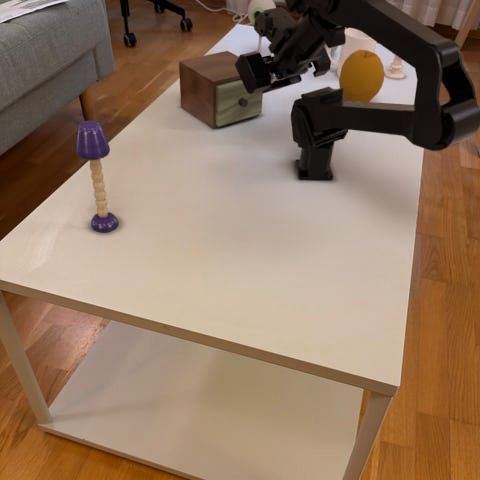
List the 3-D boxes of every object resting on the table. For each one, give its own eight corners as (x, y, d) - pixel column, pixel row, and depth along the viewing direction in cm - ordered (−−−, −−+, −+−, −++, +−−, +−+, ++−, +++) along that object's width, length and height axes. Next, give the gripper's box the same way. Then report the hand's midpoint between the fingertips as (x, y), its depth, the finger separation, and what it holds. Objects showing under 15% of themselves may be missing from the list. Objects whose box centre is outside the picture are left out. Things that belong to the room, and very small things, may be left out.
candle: (404, 72, 129) (416, 28, 122) (403, 80, 126) (416, 35, 118) (384, 70, 130) (395, 26, 122) (383, 77, 126) (394, 32, 119)
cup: (364, 85, 122) (373, 40, 115) (318, 75, 125) (325, 31, 118) (372, 74, 128) (382, 31, 120) (328, 65, 131) (335, 22, 123)
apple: (385, 107, 114) (398, 52, 105) (358, 118, 109) (370, 62, 101) (352, 93, 119) (363, 39, 110) (325, 103, 114) (335, 48, 106)
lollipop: (242, 63, 129) (245, -3, 118) (249, 54, 134) (253, -10, 123) (268, 67, 128) (273, 1, 117) (274, 58, 133) (280, -7, 122)
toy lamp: (123, 217, 80) (108, 116, 68) (119, 234, 77) (102, 132, 65) (93, 216, 80) (73, 116, 68) (88, 234, 77) (66, 131, 65)
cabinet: (259, 115, 108) (263, 69, 101) (213, 129, 103) (213, 81, 96) (226, 94, 115) (227, 50, 108) (180, 107, 110) (178, 61, 103)
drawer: (265, 115, 106) (267, 78, 101) (222, 128, 101) (222, 90, 96) (230, 94, 113) (231, 58, 107) (188, 106, 108) (187, 68, 102)
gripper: (327, -15, 84) (282, 43, 98) (241, -1, 76) (204, 60, 90) (354, 46, 85) (305, 95, 99) (271, 66, 77) (231, 116, 91)
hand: (263, 90), depth 95 cm, fingers closed
